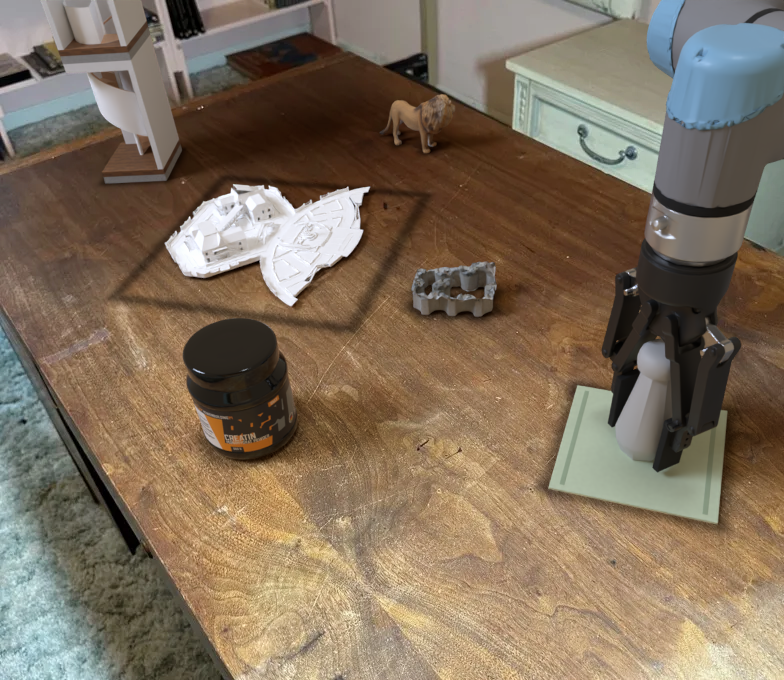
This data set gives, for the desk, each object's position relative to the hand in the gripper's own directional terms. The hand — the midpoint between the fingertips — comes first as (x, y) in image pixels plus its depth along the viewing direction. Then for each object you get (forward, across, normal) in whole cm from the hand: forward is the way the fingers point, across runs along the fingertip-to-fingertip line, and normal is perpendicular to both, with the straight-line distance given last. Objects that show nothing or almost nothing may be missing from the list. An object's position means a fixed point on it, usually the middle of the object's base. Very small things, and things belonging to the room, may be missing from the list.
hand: (642, 442), depth 79 cm
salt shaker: (+1, 0, 0) cm, 1 cm away
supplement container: (+1, -23, -35) cm, 42 cm away
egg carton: (+1, -33, -4) cm, 33 cm away
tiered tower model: (+1, -96, -31) cm, 101 cm away
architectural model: (+1, -59, -19) cm, 62 cm away
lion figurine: (+1, -77, +13) cm, 78 cm away
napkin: (+1, 0, 0) cm, 1 cm away
